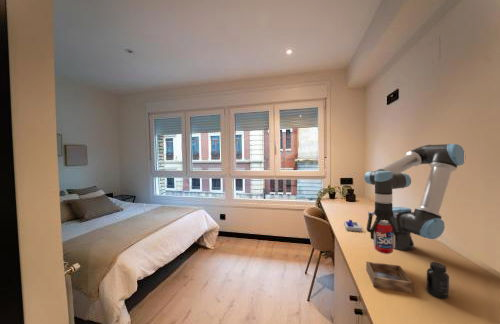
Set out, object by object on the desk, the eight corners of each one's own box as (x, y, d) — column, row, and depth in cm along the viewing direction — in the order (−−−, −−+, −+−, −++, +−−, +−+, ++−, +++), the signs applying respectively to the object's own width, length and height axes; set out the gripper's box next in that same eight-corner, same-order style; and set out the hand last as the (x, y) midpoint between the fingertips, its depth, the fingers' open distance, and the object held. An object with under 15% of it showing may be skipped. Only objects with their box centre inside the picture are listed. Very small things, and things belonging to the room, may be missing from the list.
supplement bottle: (421, 289, 89) (422, 260, 88) (436, 288, 89) (437, 259, 89) (437, 300, 82) (438, 269, 81) (453, 299, 82) (454, 268, 82)
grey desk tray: (357, 225, 166) (357, 222, 166) (361, 232, 153) (361, 228, 153) (343, 224, 169) (344, 221, 169) (346, 230, 156) (346, 226, 156)
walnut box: (399, 274, 100) (399, 265, 99) (412, 293, 86) (413, 283, 86) (366, 269, 104) (366, 261, 104) (373, 286, 90) (373, 277, 90)
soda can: (384, 247, 113) (384, 219, 112) (396, 254, 105) (396, 224, 105) (371, 248, 112) (371, 220, 111) (382, 256, 104) (382, 225, 103)
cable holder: (353, 228, 158) (353, 223, 158) (347, 227, 160) (347, 222, 160) (354, 225, 165) (354, 220, 165) (349, 224, 166) (349, 219, 166)
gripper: (404, 200, 108) (404, 244, 109) (359, 199, 114) (359, 241, 115) (410, 204, 101) (410, 251, 102) (362, 202, 107) (362, 247, 108)
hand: (383, 246), depth 109 cm, fingers closed on soda can, 8 cm apart
